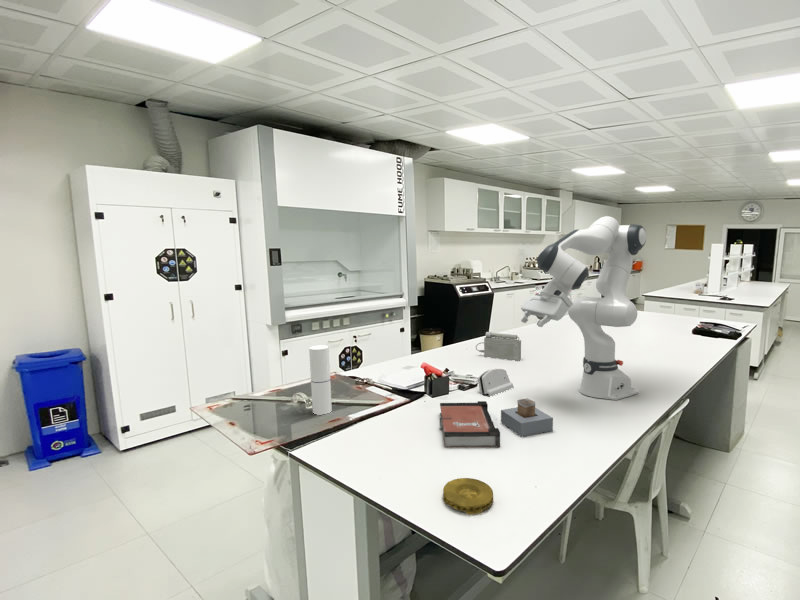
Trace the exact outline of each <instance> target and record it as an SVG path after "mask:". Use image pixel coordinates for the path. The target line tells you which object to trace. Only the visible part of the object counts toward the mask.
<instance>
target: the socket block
mask: <svg viewBox="0 0 800 600" xmlns="http://www.w3.org/2000/svg"><path fill="white" fill-rule="evenodd" d="M501 422H502V423H503V426H505V425H506V426H505V427H507V428H508V427H509V428H510V430H511V431H512V430H513V431H512V432H514V433H515V434H516V433H517V434H516V435H518V436H519V435H520V436H519V437H520V438H522V436H523V437H528V436H532V434H534V435H538V434H537V433H539V434H543V432H544V433H549V431H550V432H553V430H554V428H553V427H554V417H552V416H551V415H549V414H548V413H545V412H544V411H542V410H540V409H539V408H536V407H535V416H533V417H527V418H523V417H522V416H520V415H518V406H517V407H512V408H505V409H501V410H500V423H501ZM502 423H501V424H502ZM509 428H508V429H509ZM527 435H528V436H527Z"/></svg>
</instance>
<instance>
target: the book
mask: <svg viewBox="0 0 800 600" xmlns="http://www.w3.org/2000/svg"><path fill="white" fill-rule="evenodd" d="M439 407H440V413H439V414H440V415H439V416H440V418H439V428H440V430H442V436H443V444H444V448H501V431H500V429H499V428H498V427H495V424H494V422H493V420H492V417H491V415H490V413H489V411H488V403H487V401H485V400H482V401H477V402H439Z"/></svg>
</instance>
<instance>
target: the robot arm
mask: <svg viewBox="0 0 800 600" xmlns="http://www.w3.org/2000/svg"><path fill="white" fill-rule="evenodd" d="M646 241H647V232H646V230H645V228H644V227H643V225H642V224H636V223H635V224H632V223H631V224H625V225H624V224H622V225H620V224H619V222H618V220H617V219H616V218H614V217H612V216H608V215H605V216H602V217H599V218H598V219H596V220H595V221H593V223H591V224H590V225H589V226H588V228H583V229H574V230H572V231H570V232H569V233H567V234H566V235H564V236H562V237H560V238H559V239H558V240H557V241H555V242H554V243H551V244H549V245H548V246H546V247H545V248H543V249H542V250H541V251H540V252H539V254H538V255H537V257H536V264H537V267H538V269H539V270H541V271H543V272H544V273H547V274H549V275H550V276H552V278H551V280H549V281H548V282H547V283H546V285H544V287H543V288H542V290H541V291H540V292H539V293H535V294H533V295H530V296H528V298H527V299H526V300H525V301H524V302H523V304H522V305H521V307H520V309H521V311H522V312H523V315H522V317H521V319H520V321H521V323H524V324H526V323H528V321H529V317H530V316H534V317H535V316H536V317H539V318H542V319H541V320H538V321H537V323H536V326H537V327H538V328H543V326H544V325H546V324H547V323H549V322H550V321H551V320H552V321H561V319H563V317H564V316H566V314H567V315H568V317H569V318H570V320H572V321H573V322H574V323H575V324H576V326H578V328H579V330H580V332H581V334H582V337H583V341H584V345H583V346H584V357H583V359H582V367H583V371H582V378H581V383H580V386H579V390H578V391H579V392H580V393H581V394H582V395H584V396H587V397H591V398H596V399H607V400H611V401H612V400H613V401H619V400H621V399H625V398H628V397H631V396H635V395H637V394H638V393H639V391H638V390H637V389H636V388H634V387H632V380H631V377H630V376H628V375H627V374H626V373H624V372H623V371H622V370H620V369H619V367H618V366H620V367H622V366H623V365H624V361H623V360H620V359H617V360H616V358H615V357H616V341H615V340H614V338H613V337H612V336H610V335H609V334H608V333H606V332H605V331H604V330H603V329H602V326H603V327H604V326H605V327H613V328H623V327H624V328H625V327H631V326H632V325H633V324H634V323H635V322H636V320H637V317H638V309H637V307H636V305H635V303H634V302H633V301H631V300H630V299H629V298H628V297H627V295H626V291H627V287H628V283H629V279H630V276H631V274H632V273H631V272H632V269H633V258H632V256H635V255H637V254H639V252H640V250H642V249H643V247H644V246H645V245H646ZM568 249H573V250H576V251H579V252H580V253H581V252H582V253H583V254H585V255H589V256H598V255H602V254H604V253H605V254H609V255H608V257H607V258H606V260H605V262H604V264H603V265H602V268H601V269H600V272H599V275H598V277H597V278H596V279H597V280H596V281H595V282H596V283H595V288H596V290H597V292H598V293H599V294H600V295H601V296H603V297H593V296H592V297H591V296H583V297H582V296H581V297H580V296H579V297H574V298H573V299H570V297H569V294H570V292H572V291H575V290H580V288H581V286H582V284H583V283H584V282H586V280H587V279H588V278H589V277H590V273H589V268H588V266H587V265H585V263H583V262H581V261H580V260H578V259H577V258H575V257H573V256H572V255H570V254H569V253H567V252H566V250H568Z"/></svg>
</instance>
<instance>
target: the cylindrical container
mask: <svg viewBox="0 0 800 600" xmlns="http://www.w3.org/2000/svg"><path fill="white" fill-rule="evenodd" d="M329 349H330V348H329V345H326V344H317V345H312V346H309V348H308V351H309V367H310V368H309V370H310V372H309V373H310V388H311V406H312V414H313V413H314V414H317V415H316V416H319V415H322V414H327V413H330V412H331V411H333V410H332V407H333V406H332V389H331V388H332V386H331V370H330V367H331V366H330V365H331V364H330V350H329ZM331 413H332V412H331ZM331 413H330V414H331ZM314 414H313V415H314ZM327 415H328V414H327ZM322 416H323V415H322Z"/></svg>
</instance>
